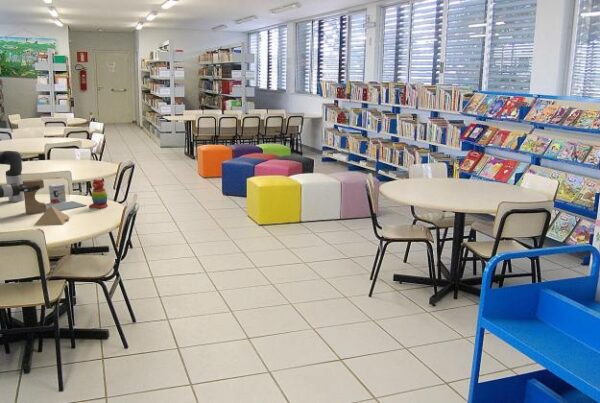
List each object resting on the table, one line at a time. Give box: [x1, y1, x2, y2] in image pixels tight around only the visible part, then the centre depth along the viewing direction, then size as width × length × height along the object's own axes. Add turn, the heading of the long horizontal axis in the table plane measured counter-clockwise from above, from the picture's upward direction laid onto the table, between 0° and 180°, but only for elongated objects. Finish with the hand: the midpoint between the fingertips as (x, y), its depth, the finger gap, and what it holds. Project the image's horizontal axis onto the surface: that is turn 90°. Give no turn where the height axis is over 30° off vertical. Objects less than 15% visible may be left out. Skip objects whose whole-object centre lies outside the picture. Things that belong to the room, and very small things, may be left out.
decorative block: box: [22, 178, 47, 215], centre depth 345 cm, size 11×6×20 cm, turn 121°
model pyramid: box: [33, 206, 71, 227], centre depth 325 cm, size 17×17×10 cm
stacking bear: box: [88, 178, 108, 210], centre depth 359 cm, size 11×10×18 cm
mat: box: [46, 200, 87, 212], centre depth 360 cm, size 17×22×1 cm
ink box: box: [48, 183, 67, 205], centre depth 371 cm, size 9×5×12 cm, turn 136°
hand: (36, 186), depth 345 cm, fingers open, 8 cm apart
